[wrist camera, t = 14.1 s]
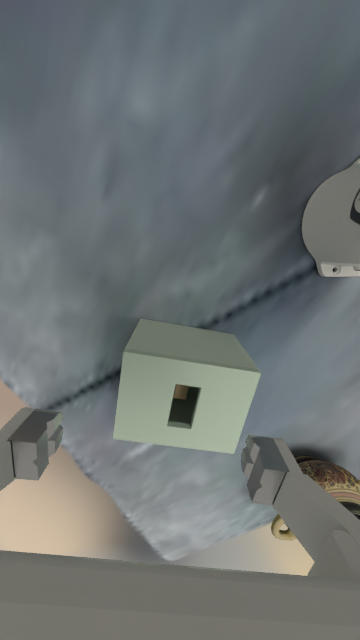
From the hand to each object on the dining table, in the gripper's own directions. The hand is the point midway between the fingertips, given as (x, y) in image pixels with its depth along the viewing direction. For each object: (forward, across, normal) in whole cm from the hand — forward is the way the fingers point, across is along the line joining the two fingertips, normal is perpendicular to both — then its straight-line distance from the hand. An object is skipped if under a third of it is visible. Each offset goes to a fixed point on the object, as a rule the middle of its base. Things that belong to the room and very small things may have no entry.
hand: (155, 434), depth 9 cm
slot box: (+31, -4, +12) cm, 33 cm away
